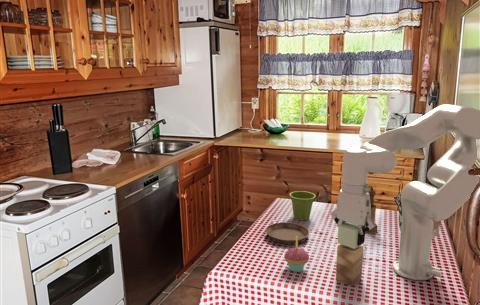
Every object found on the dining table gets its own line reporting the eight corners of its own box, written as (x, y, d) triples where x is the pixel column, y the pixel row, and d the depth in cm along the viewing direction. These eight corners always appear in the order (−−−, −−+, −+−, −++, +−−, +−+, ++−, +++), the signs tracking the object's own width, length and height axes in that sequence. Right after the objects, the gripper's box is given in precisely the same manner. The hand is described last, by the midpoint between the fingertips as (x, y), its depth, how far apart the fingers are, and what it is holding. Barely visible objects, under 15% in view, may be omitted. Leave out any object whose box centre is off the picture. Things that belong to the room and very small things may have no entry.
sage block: (363, 242, 126) (365, 225, 124) (354, 248, 121) (355, 230, 120) (347, 237, 130) (348, 220, 128) (337, 242, 126) (338, 225, 124)
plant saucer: (312, 232, 166) (313, 225, 165) (303, 249, 150) (303, 242, 149) (273, 226, 172) (273, 219, 172) (260, 242, 156) (260, 235, 155)
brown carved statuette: (380, 230, 166) (383, 190, 162) (370, 234, 163) (373, 193, 159) (367, 225, 172) (370, 186, 168) (358, 229, 168) (360, 189, 164)
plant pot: (310, 224, 173) (311, 200, 171) (285, 220, 178) (286, 196, 176) (317, 215, 184) (318, 192, 181) (293, 211, 189) (294, 189, 186)
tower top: (362, 262, 127) (363, 245, 126) (353, 269, 123) (354, 251, 122) (346, 256, 131) (347, 240, 130) (336, 262, 127) (337, 245, 126)
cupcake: (283, 262, 140) (284, 231, 137) (307, 262, 139) (308, 231, 137) (285, 274, 131) (286, 242, 129) (310, 275, 131) (311, 242, 128)
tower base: (361, 279, 128) (362, 262, 127) (352, 286, 124) (353, 269, 123) (345, 272, 133) (346, 256, 131) (335, 279, 128) (336, 262, 127)
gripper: (386, 191, 118) (381, 245, 122) (336, 180, 130) (333, 230, 134) (374, 196, 113) (370, 253, 117) (323, 184, 125) (321, 236, 129)
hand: (351, 240), depth 126 cm, fingers closed on sage block, 5 cm apart
